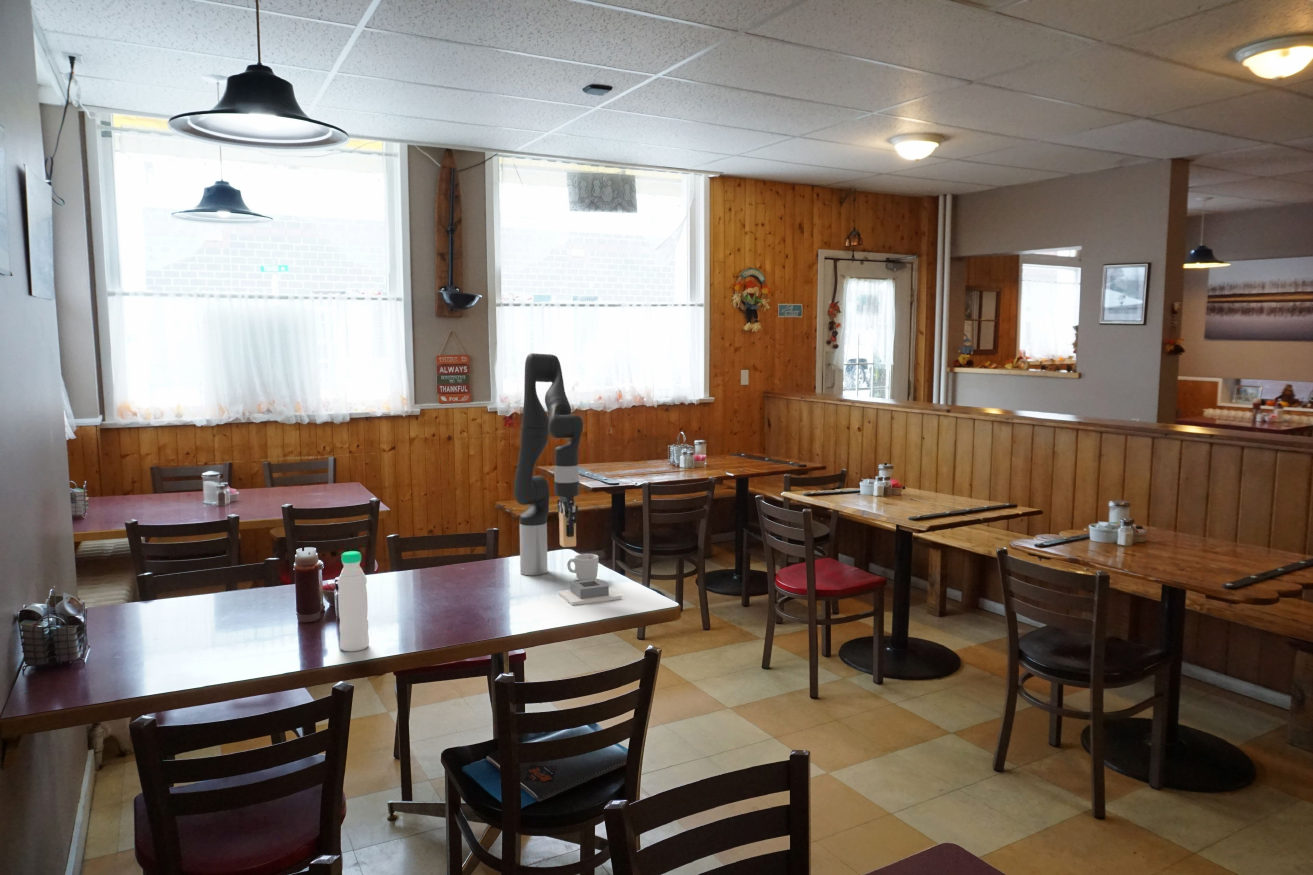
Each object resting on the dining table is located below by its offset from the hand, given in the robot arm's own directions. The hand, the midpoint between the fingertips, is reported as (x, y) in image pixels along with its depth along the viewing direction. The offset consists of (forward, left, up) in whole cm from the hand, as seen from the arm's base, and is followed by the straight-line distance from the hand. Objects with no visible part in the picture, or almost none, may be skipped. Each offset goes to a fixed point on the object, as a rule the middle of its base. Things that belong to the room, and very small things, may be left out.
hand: (567, 534), depth 267 cm
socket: (+2, +6, -20) cm, 21 cm away
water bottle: (+20, -65, -20) cm, 71 cm away
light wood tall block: (0, 0, -3) cm, 3 cm away
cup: (-17, +11, -20) cm, 28 cm away
